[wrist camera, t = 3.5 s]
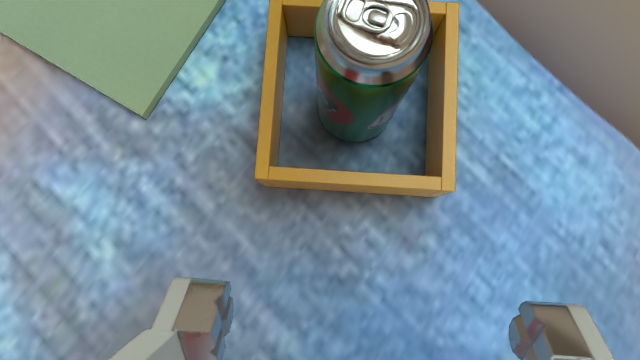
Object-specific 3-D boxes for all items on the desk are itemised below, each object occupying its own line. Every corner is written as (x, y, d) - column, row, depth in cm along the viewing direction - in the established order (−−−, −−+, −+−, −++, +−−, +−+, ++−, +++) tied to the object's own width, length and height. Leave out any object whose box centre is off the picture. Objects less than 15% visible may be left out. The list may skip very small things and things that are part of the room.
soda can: (377, 154, 27) (417, 95, 16) (307, 129, 28) (295, 53, 16) (400, 87, 28) (457, -19, 16) (332, 63, 28) (338, -58, 16)
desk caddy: (264, 186, 27) (253, 178, 23) (277, 25, 29) (270, -8, 25) (436, 197, 27) (455, 191, 23) (440, 33, 29) (459, 2, 25)
